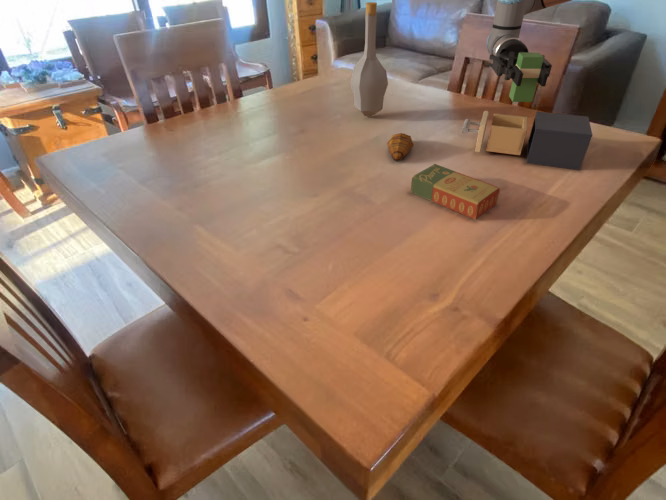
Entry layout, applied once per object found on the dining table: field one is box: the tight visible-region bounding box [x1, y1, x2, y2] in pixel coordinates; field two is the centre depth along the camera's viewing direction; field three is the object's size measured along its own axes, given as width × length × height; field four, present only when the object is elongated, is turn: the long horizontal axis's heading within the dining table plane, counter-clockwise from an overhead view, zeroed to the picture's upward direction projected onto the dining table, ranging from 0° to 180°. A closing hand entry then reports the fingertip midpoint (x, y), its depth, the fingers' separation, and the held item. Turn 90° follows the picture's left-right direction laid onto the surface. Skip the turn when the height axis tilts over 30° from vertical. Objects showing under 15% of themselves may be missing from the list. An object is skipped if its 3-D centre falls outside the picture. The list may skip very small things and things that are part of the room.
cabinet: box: [525, 111, 593, 171], centre depth 102 cm, size 12×12×9 cm
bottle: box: [349, 1, 389, 118], centre depth 120 cm, size 11×11×30 cm
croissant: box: [386, 132, 415, 162], centre depth 107 cm, size 14×7×5 cm, turn 167°
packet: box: [508, 52, 545, 103], centre depth 99 cm, size 5×4×10 cm
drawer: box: [460, 110, 529, 156], centre depth 107 cm, size 15×10×7 cm
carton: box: [410, 163, 501, 220], centre depth 89 cm, size 8×16×4 cm, turn 43°
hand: (532, 79), depth 95 cm, fingers closed on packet, 5 cm apart
